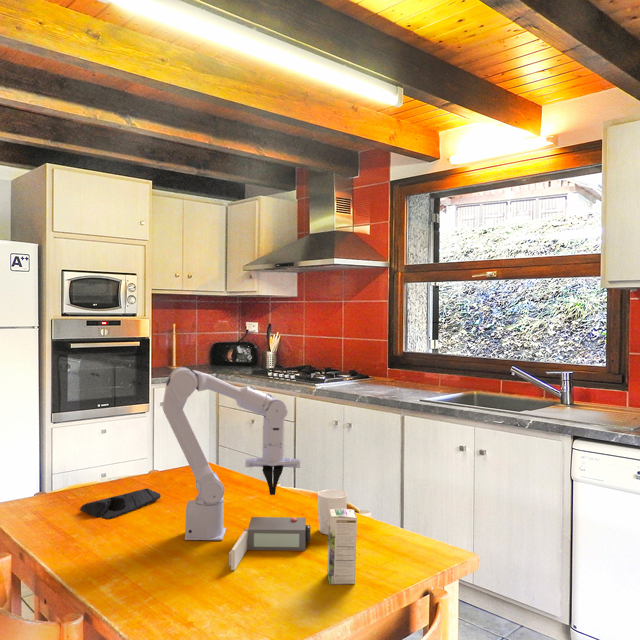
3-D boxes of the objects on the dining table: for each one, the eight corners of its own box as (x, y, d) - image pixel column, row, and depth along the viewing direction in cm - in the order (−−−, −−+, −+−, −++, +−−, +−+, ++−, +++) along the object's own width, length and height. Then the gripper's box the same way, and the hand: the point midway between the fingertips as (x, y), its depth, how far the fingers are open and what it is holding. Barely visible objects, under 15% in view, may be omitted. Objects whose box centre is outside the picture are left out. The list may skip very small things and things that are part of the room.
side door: (242, 547, 146) (242, 528, 146) (248, 547, 146) (248, 529, 146) (228, 569, 133) (228, 549, 133) (234, 570, 133) (234, 549, 133)
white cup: (344, 537, 154) (344, 499, 154) (314, 535, 156) (314, 496, 156) (348, 527, 162) (349, 490, 162) (320, 524, 164) (320, 488, 163)
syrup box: (326, 573, 133) (327, 508, 132) (353, 573, 133) (354, 508, 133) (328, 585, 127) (330, 517, 127) (356, 584, 127) (357, 516, 127)
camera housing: (247, 550, 145) (247, 527, 145) (251, 536, 154) (251, 514, 154) (310, 550, 145) (310, 527, 145) (310, 536, 154) (310, 515, 154)
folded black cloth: (168, 503, 182) (168, 487, 182) (105, 523, 164) (105, 505, 164) (136, 493, 190) (137, 479, 190) (73, 511, 173) (73, 495, 173)
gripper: (244, 446, 155) (243, 498, 155) (300, 446, 156) (299, 498, 156) (247, 440, 162) (246, 490, 162) (300, 441, 163) (299, 490, 163)
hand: (272, 493), depth 160 cm, fingers closed
